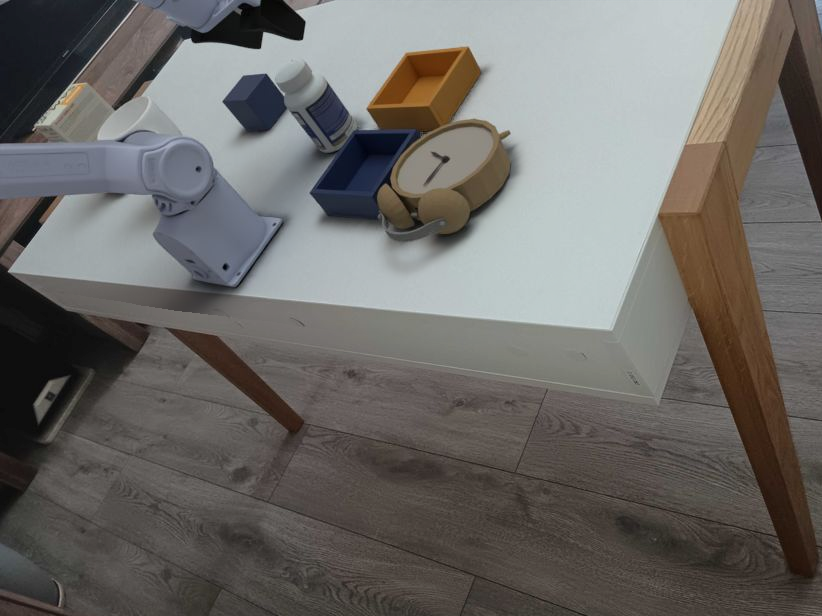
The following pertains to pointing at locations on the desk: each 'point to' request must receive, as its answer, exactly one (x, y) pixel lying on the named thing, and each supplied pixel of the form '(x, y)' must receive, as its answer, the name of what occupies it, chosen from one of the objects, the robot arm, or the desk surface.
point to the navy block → (255, 102)
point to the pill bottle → (315, 106)
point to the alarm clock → (444, 179)
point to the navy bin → (361, 172)
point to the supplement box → (75, 116)
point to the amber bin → (425, 89)
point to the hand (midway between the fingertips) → (281, 35)
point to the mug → (137, 120)
